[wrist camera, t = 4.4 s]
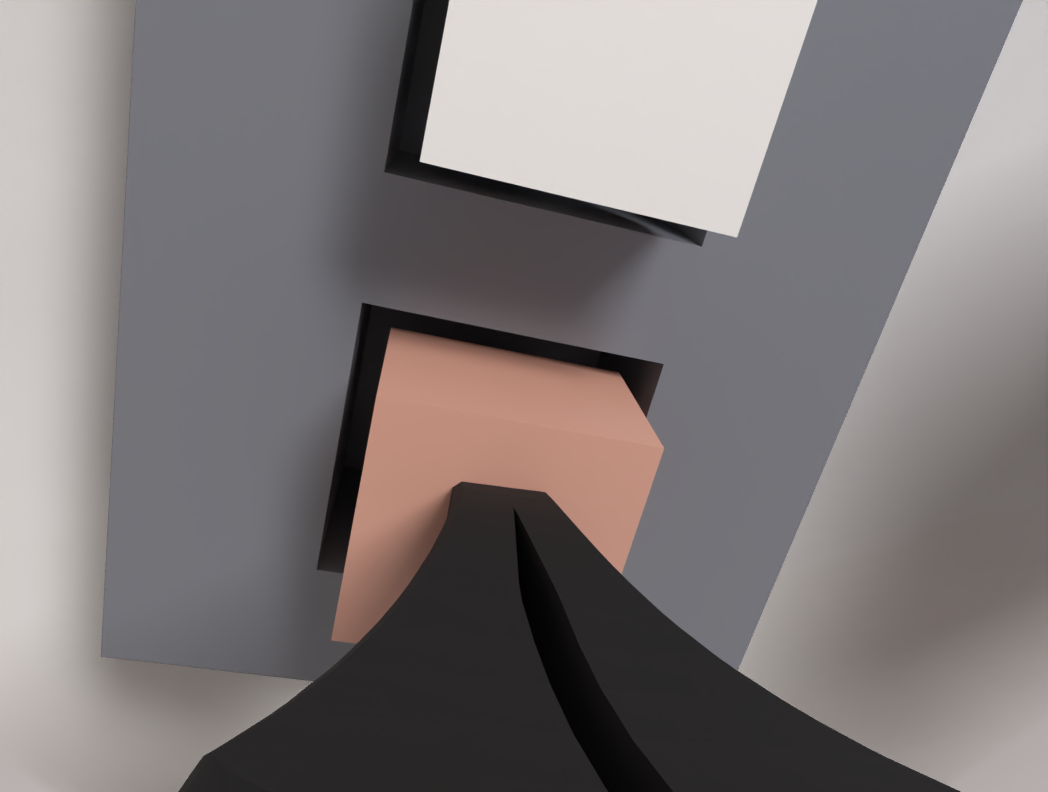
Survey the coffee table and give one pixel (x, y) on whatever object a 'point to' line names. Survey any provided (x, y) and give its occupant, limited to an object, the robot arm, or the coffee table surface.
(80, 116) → the coffee table surface
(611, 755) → the robot arm
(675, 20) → the white key
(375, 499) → the red key
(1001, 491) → the coffee table surface
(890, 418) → the coffee table surface
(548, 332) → the key housing
